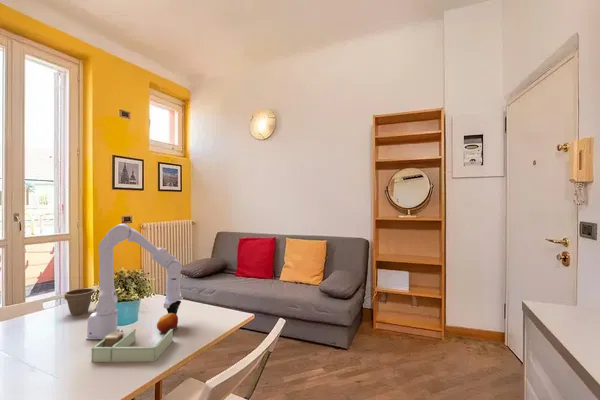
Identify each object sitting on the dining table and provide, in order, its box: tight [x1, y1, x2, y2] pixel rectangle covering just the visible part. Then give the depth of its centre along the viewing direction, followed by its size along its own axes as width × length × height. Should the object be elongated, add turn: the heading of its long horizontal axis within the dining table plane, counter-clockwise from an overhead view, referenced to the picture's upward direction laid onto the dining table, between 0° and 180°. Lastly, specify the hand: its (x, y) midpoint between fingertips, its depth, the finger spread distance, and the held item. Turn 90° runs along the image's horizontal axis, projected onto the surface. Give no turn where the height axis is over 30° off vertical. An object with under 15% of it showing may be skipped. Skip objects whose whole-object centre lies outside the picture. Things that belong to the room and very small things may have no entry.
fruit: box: [156, 312, 179, 334], centre depth 120 cm, size 8×8×8 cm
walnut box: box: [104, 331, 124, 347], centre depth 102 cm, size 4×4×6 cm
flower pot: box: [64, 287, 96, 316], centre depth 138 cm, size 12×11×10 cm
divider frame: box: [91, 328, 174, 363], centre depth 103 cm, size 21×15×4 cm
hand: (172, 319), depth 126 cm, fingers closed
